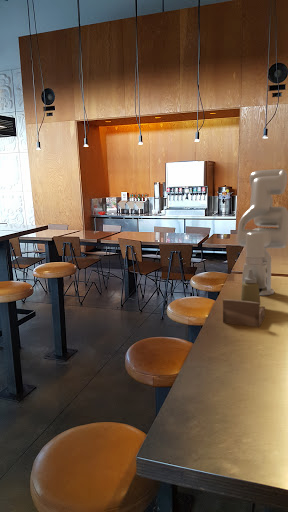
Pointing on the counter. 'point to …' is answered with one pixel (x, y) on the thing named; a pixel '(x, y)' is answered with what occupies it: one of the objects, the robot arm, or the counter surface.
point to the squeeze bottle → (250, 289)
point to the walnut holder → (243, 312)
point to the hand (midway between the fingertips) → (254, 302)
